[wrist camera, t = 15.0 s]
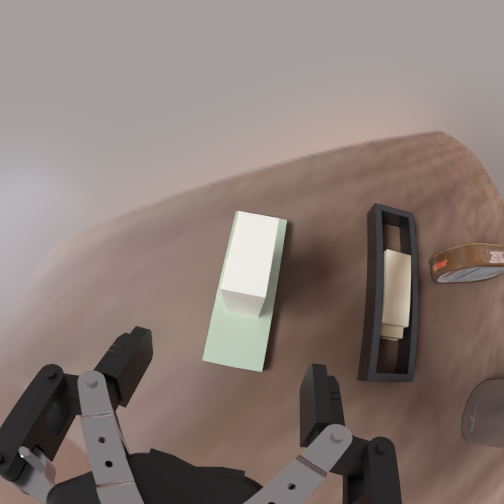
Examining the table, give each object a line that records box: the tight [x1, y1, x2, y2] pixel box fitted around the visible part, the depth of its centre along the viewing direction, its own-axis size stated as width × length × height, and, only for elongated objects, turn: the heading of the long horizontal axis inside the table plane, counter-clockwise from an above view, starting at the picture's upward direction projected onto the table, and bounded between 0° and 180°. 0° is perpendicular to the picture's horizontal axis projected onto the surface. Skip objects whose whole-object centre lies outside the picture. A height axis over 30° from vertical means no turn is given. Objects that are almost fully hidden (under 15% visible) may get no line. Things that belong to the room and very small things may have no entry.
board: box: [203, 211, 287, 372], centre depth 28 cm, size 6×16×1 cm, turn 170°
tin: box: [429, 243, 504, 283], centre depth 26 cm, size 15×3×8 cm, turn 89°
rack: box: [357, 203, 418, 382], centre depth 27 cm, size 6×20×2 cm, turn 170°
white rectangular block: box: [221, 211, 279, 318], centre depth 23 cm, size 3×6×8 cm, turn 169°
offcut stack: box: [380, 249, 411, 341], centre depth 27 cm, size 3×10×3 cm, turn 167°
